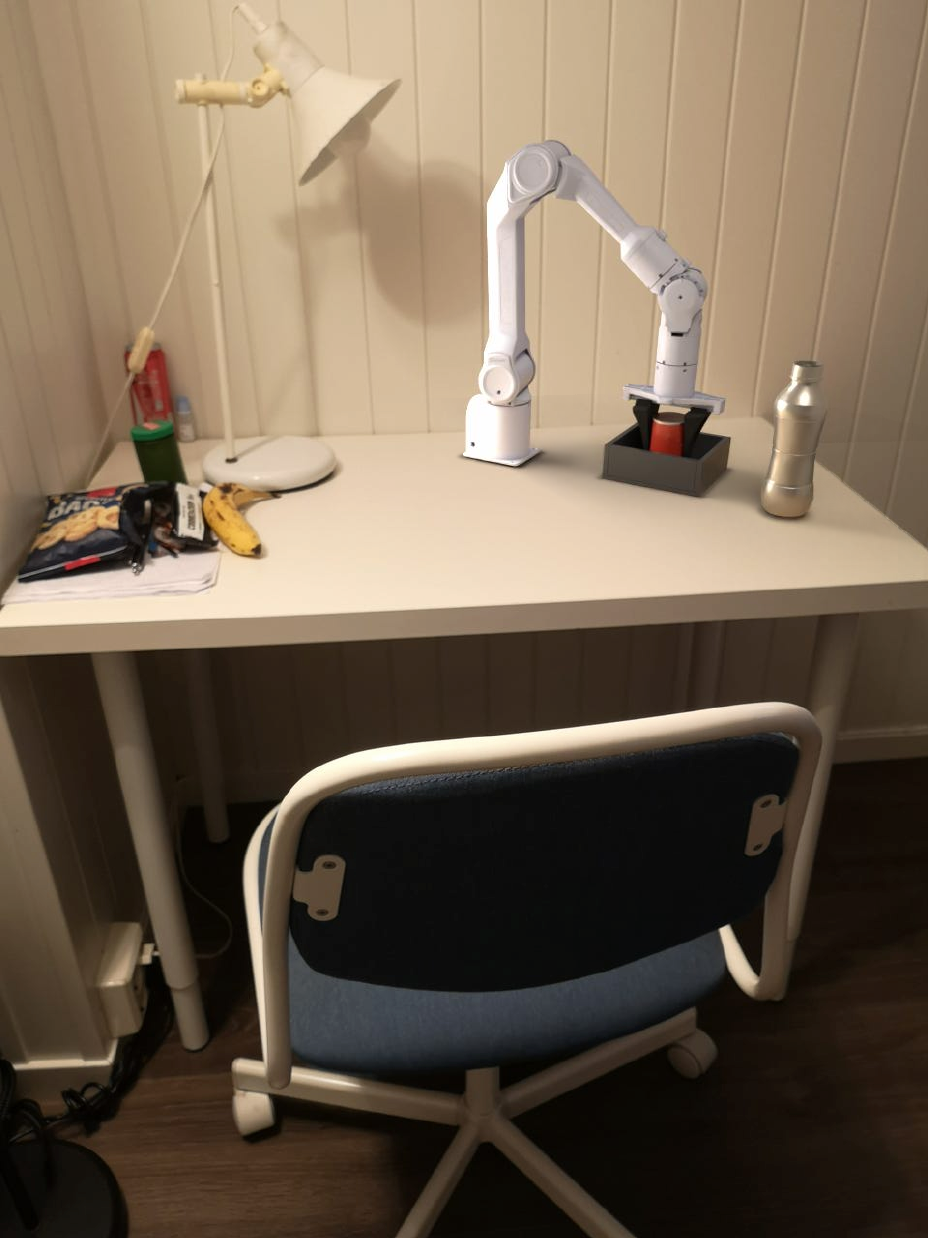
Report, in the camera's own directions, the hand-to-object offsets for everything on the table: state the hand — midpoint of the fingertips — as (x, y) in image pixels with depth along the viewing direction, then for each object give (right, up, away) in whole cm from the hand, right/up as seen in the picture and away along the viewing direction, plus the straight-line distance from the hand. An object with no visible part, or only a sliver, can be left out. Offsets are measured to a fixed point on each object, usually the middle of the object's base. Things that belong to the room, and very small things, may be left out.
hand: (667, 454), depth 143 cm
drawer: (0, -3, +1) cm, 3 cm away
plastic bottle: (+13, -10, -11) cm, 20 cm away
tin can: (0, -2, +1) cm, 2 cm away
